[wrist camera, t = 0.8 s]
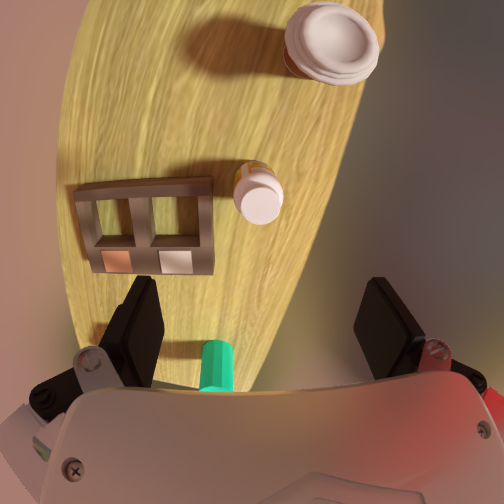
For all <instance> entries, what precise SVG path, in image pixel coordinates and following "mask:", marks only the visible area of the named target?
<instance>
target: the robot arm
mask: <svg viewBox="0 0 504 504" xmlns="http://www.w3.org/2000/svg"><path fill="white" fill-rule="evenodd" d="M354 332H355V335H356V337H357V339H358V341H359V343H360V346H361V348H362V351H363V353H364V355H365V357H366V360H367V362H368V364H369V367H370V369H371V372H372V374H373V376H374V379H375V380H373V381H367V382H362V383H354V384H348V385H340V386H332V387H323V388H313V389H302V390H287V391H267V392H207V391H186V390H170V389H158V388H151V384H152V379H153V375H154V371H155V367H156V363H157V359H158V355H159V351H160V347H161V343H162V340H163V336H164V322H163V318H162V313H161V308H160V303H159V297H158V292H157V286H156V281H155V280H154V279H152V278H151V276H140V275H138V276H137V277H136V279H135V281H134V282H133V284H132V286H131V288H130V290H129V292H128V294H127V296H126V298H125V300H124V302H123V304H120V305H118V307H117V308H116V310H115V312H114V314H113V316H112V318H111V320H110V322H109V325H108V327H107V329H106V331H105V333H104V335H103V337H102V339H101V341H100V344H99V346H88V347H84V348H83V349H81V350H79V351H78V352H77V353H76V355H75V356H74V358H73V368H71V369H69V370H67V371H65V372H63V373H61V374H59V375H57V376H55V377H53V378H51V379H49V380H47V381H45V382H42V383H41V384H38V385H37V386H36V387H35V388H33V390H32V391H31V393H30V396H29V403H28V404H27V405H25V404H23V405H21V406H20V407H19V408H18V409H17V410H16V411H15V412H14V413H13V414H11V415H10V416H9V417H8V418H7V419H6V420H5V421H4V422H3V423H2V424H1V425H0V451H1V452H2V454H3V456H4V457H5V459H6V460H7V462H8V463H9V465H10V466H11V468H12V469H13V471H14V472H15V474H16V475H17V477H18V478H19V479H20V481H21V482H22V484H23V485H24V486H25V487H26V489H27V490H28V491H29V493H30V494H31V495H32V496H33V498H34V499H35V500H36V501H37V502H38V503H39V504H504V397H503V396H502V395H500V394H499V393H498V392H497V391H495V390H494V389H493V388H491V387H489V388H487V382H486V379H485V377H484V376H483V375H482V374H481V373H480V372H478V371H477V370H475V369H472V368H470V367H468V366H466V365H464V364H462V363H459V362H457V361H455V360H453V359H452V352H451V349H450V347H449V346H448V345H447V344H446V343H445V342H443V341H441V340H438V339H429V340H428V341H426V340H425V339H424V338H425V336H426V335H425V333H424V332H423V330H422V329H421V327H420V326H419V324H418V323H417V321H416V320H415V319H414V317H413V315H412V314H411V313H410V311H409V310H408V309H407V307H406V305H405V304H404V303H403V301H402V300H401V299H400V297H399V296H398V295H397V293H396V292H395V290H394V289H393V288H392V286H391V285H390V283H389V282H388V281H387V280H386V278H385V277H373V278H372V279H371V280H370V281H368V283H367V286H366V289H365V292H364V296H363V299H362V302H361V305H360V308H359V311H358V314H357V317H356V321H355V323H354Z"/></svg>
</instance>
